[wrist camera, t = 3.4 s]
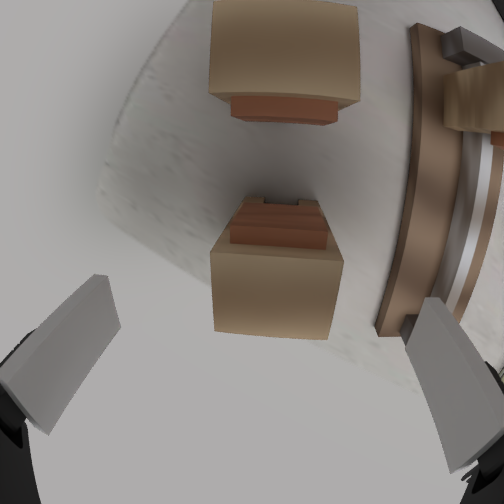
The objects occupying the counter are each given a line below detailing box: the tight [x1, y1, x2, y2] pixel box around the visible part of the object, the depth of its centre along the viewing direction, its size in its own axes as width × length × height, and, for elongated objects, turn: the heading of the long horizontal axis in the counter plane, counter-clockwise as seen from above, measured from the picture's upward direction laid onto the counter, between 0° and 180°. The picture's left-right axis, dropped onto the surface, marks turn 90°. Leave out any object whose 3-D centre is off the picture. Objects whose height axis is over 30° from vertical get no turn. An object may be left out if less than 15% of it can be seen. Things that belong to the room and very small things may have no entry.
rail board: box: [375, 23, 504, 346], centre depth 15 cm, size 26×9×4 cm, turn 179°
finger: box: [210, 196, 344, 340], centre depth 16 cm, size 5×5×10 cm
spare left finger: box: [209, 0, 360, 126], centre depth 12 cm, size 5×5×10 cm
